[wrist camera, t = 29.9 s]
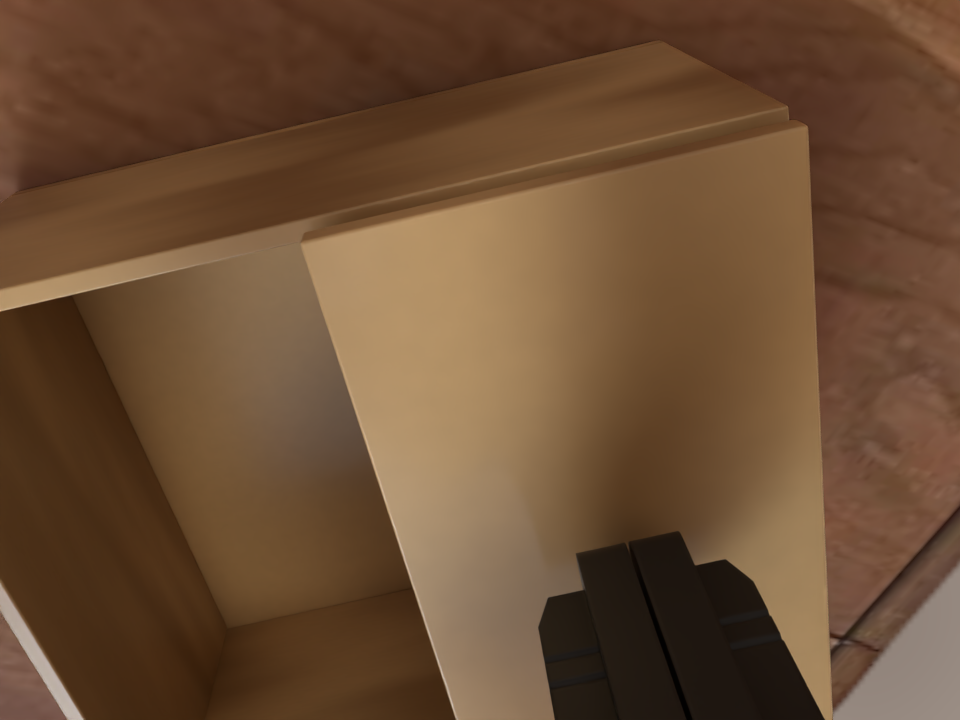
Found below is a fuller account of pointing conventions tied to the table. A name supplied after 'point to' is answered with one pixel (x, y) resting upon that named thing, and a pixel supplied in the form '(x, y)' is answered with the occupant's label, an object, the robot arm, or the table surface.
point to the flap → (590, 392)
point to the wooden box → (254, 395)
